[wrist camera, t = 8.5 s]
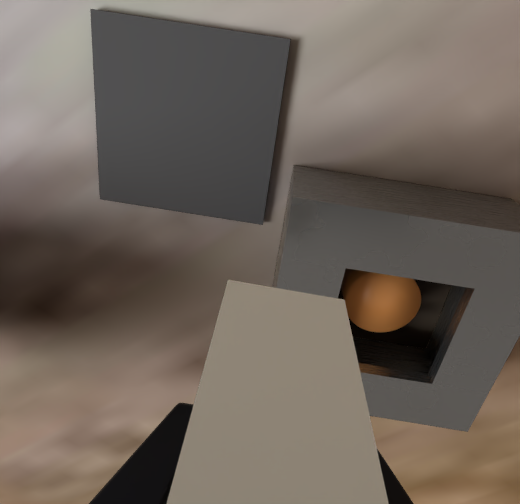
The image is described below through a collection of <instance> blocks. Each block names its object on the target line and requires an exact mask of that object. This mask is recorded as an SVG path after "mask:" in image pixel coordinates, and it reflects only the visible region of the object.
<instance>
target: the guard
mask: <svg viewBox="0 0 520 504" xmlns="http://www.w3.org/2000/svg"><path fill="white" fill-rule="evenodd" d="M346 268H347V269H354V270H360V271H366V272H373V273H379V274H385V275H392V276H398V277H404V278H410V279H417V280H423V281H429V282H436V283H442V284H448V285H452V287H451V289H450V292H449V294H448V297H447V299H446V301H445V304H444V306H443V309H442V311H441V313H440V316H439V318H438V321H437V323H436V325H435V328H434V330H433V333H432V335H431V337H430V340H429V342H428V345H427V347H426V348H421V347H415V346H409V345H402V344H396V343H390V342H384V341H378V340H371V339H365V338H359V337H353V341H354V346H355V350H356V355H357V360H358V364H359V369H360V373H361V378H362V383H363V387H364V392H365V397H366V401H367V406H368V410H369V415H370V416H375V417H381V418H387V419H393V420H399V421H405V422H411V423H418V424H424V425H430V426H436V427H442V428H448V429H454V430H460V431H467V432H468V430H469V428H470V426H471V425H472V423H473V421H474V419H475V417H476V415H477V414H478V412H479V410H480V408H481V406H482V404H483V402H484V401H485V399H486V397H487V395H488V393H489V391H490V390H491V388H492V386H493V384H494V382H495V380H496V379H497V377H498V375H499V373H500V371H501V369H502V367H503V366H504V364H505V362H506V360H507V358H508V356H509V355H510V353H511V351H512V349H513V347H514V345H515V343H516V342H517V340H518V338H519V336H520V205H519V204H518V203H516V202H515V201H514V200H512V199H509V198H502V197H496V196H489V195H483V194H476V193H470V192H464V191H457V190H451V189H444V188H438V187H432V186H425V185H419V184H412V183H406V182H399V181H393V180H387V179H380V178H374V177H367V176H361V175H354V174H348V173H342V172H335V171H329V170H322V169H316V168H309V167H303V166H297V165H294V167H293V173H292V178H291V184H290V190H289V195H288V201H287V207H286V213H285V218H284V224H283V230H282V235H281V241H280V247H279V252H278V258H277V264H276V270H275V275H274V281H273V287H274V288H280V289H285V290H291V291H297V292H303V293H309V294H315V295H320V296H326V297H332V298H338V296H339V292H340V288H341V284H342V281H343V277H344V273H345V269H346Z"/></svg>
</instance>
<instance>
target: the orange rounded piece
mask: <svg viewBox="0 0 520 504" xmlns="http://www.w3.org/2000/svg"><path fill="white" fill-rule="evenodd" d="M341 288H342V293H343V299H344V300H345V304H346V309H347V313H348V317H349V318H350V320H351V321H352V322H353V323H354V324H356V325H357V326H358V327H360V328H362V329H364V330H367V331H371V332H389V331H393V330H397V329H399V328H401V327H403V326H405V325H406V324H408V323H409V322H410V321H411V320H412V319H413V318H414V317H415V316H416V314H417V313H418V311H419V308H420V305H421V293H420V290H419V287H418V285H417V283H416V282H415V280H414V279H410V278H404V277H398V276H392V275H385V274H379V273H373V272H366V271H360V270H354V269H347V268H346V269H345V273H344V277H343V281H342V284H341Z"/></svg>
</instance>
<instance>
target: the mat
mask: <svg viewBox="0 0 520 504" xmlns="http://www.w3.org/2000/svg"><path fill="white" fill-rule="evenodd" d="M91 29H92V49H93V69H94V89H95V109H96V130H97V150H98V170H99V190H100V199H102V200H109V201H115V202H121V203H128V204H134V205H140V206H147V207H153V208H159V209H166V210H172V211H178V212H185V213H191V214H197V215H204V216H210V217H216V218H223V219H229V220H236V221H242V222H248V223H255V224H261V225H263V220H264V213H265V207H266V200H267V193H268V187H269V180H270V173H271V167H272V160H273V153H274V147H275V140H276V133H277V127H278V120H279V113H280V107H281V100H282V93H283V87H284V80H285V73H286V67H287V60H288V53H289V47H290V40H291V39H286V38H279V37H273V36H266V35H259V34H253V33H246V32H239V31H233V30H226V29H220V28H213V27H206V26H200V25H193V24H187V23H180V22H173V21H167V20H160V19H154V18H147V17H140V16H134V15H127V14H121V13H114V12H107V11H101V10H94V9H91Z"/></svg>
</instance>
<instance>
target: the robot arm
mask: <svg viewBox="0 0 520 504" xmlns="http://www.w3.org/2000/svg"><path fill="white" fill-rule="evenodd" d="M192 409H193V404H187V403H179V404H177V405H176V406H175V407H174V408H173V409H172V411H171V412H170V413H169V414H168V415H167V416H166V417H165V418H164V420H163V421H162V422H161V423H160V424H159V425H158V426H157V427H156V429H155V430H154V431H153V432H152V433H151V434H150V435H149V436H148V438H147V439H146V440H145V441H144V442H143V443H142V444H141V445H140V447H139V448H138V449H137V450H136V451H135V452H134V453H133V455H132V456H131V457H130V458H129V459H128V460H127V461H126V462H125V464H124V465H123V466H122V467H121V468H120V469H119V470H118V471H117V473H116V474H115V475H114V476H113V477H112V478H111V479H110V480H109V482H108V483H107V484H106V485H105V486H104V487H103V488H102V489H101V491H100V492H99V493H98V494H97V495H96V496H95V497H94V498H93V500H92V501H91V502H90V503H89V504H167V500H168V496H169V493H170V489H171V486H172V482H173V478H174V475H175V471H176V467H177V464H178V460H179V456H180V453H181V449H182V445H183V442H184V438H185V435H186V431H187V427H188V424H189V420H190V416H191V413H192ZM377 452H378V457H379V461H380V466H381V471H382V475H383V480H384V485H385V489H386V494H387V498H388V503H389V504H413V502H412V501H411V499H410V498H409V496H408V495H407V493H406V492H405V490H404V489H403V487H402V486H401V484H400V483H399V481H398V480H397V478H396V477H395V475H394V474H393V472H392V471H391V469H390V467H389V466H388V464H387V463H386V461H385V460H384V458H383V457H382V455H381V454H380V452H379V451H378V449H377Z"/></svg>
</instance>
